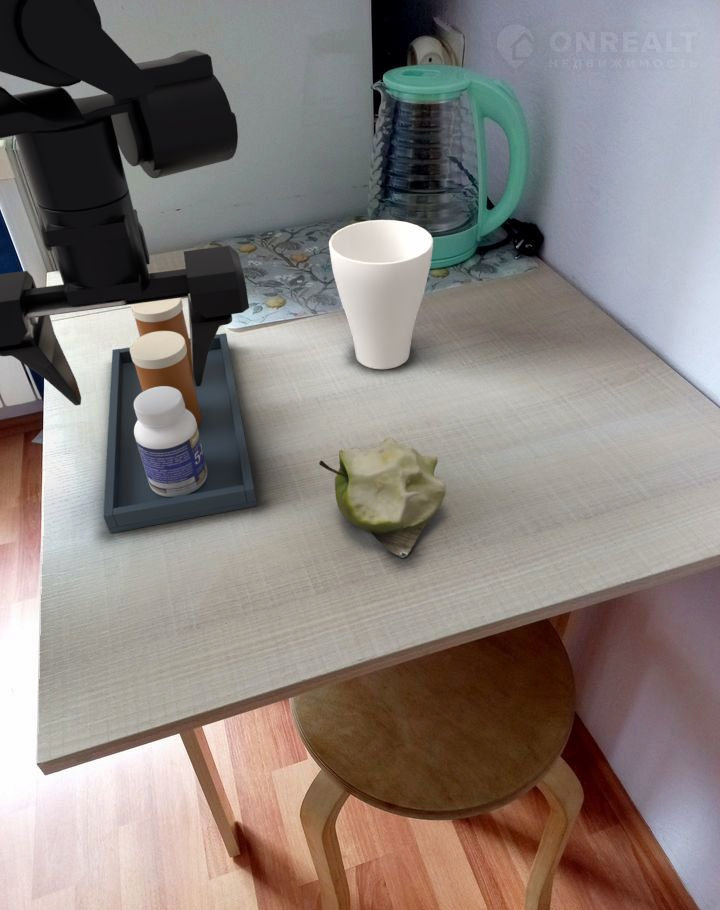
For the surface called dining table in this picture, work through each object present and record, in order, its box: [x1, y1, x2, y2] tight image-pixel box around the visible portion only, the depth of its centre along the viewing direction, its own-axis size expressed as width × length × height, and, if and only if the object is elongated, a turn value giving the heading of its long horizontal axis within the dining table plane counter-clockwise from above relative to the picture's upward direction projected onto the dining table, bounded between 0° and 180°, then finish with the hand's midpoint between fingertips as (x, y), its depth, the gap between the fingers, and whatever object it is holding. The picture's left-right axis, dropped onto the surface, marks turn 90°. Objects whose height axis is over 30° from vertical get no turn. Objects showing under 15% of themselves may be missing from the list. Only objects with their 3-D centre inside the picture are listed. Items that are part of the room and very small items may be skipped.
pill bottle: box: [134, 386, 207, 497], centre depth 61 cm, size 5×5×9 cm
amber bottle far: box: [130, 298, 194, 379], centre depth 74 cm, size 5×5×9 cm
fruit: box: [318, 436, 447, 559], centre depth 59 cm, size 9×9×8 cm
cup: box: [328, 219, 434, 370], centre depth 75 cm, size 10×10×14 cm
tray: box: [102, 332, 258, 534], centre depth 70 cm, size 13×27×2 cm, turn 13°
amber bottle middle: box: [130, 331, 201, 427], centre depth 67 cm, size 5×5×9 cm
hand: (139, 392), depth 56 cm, fingers open, 9 cm apart
